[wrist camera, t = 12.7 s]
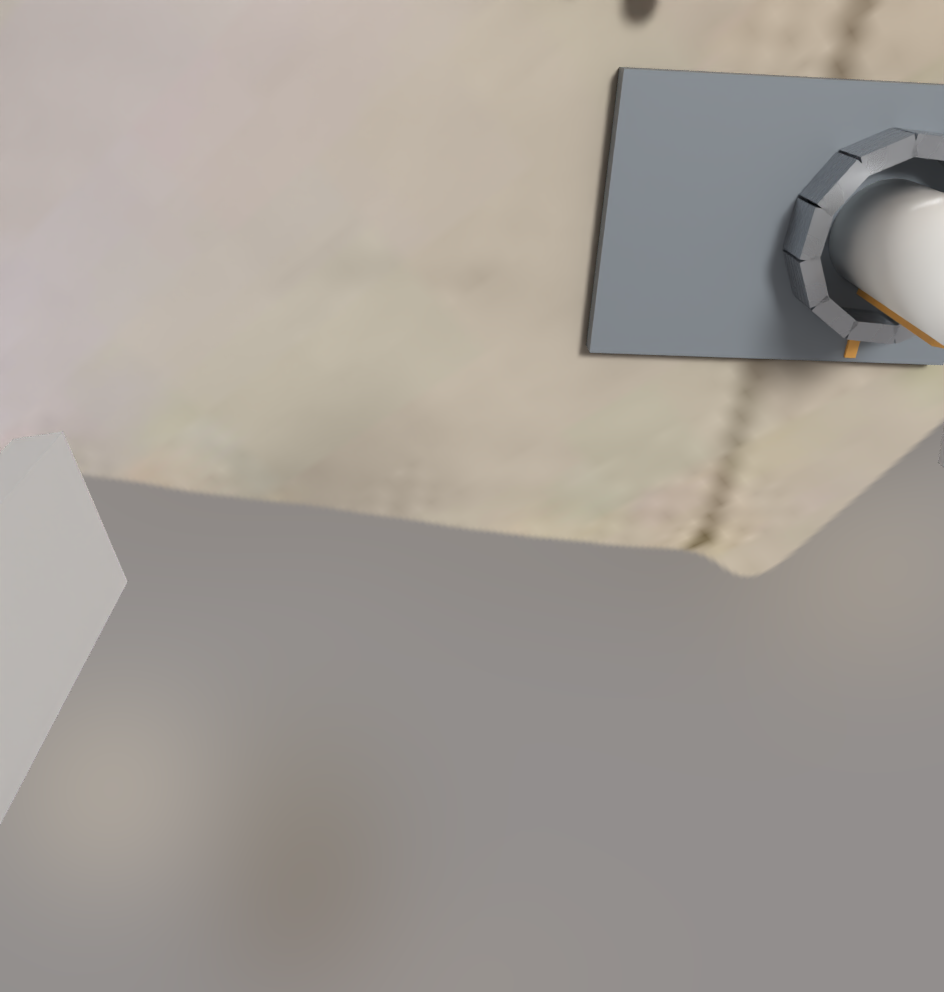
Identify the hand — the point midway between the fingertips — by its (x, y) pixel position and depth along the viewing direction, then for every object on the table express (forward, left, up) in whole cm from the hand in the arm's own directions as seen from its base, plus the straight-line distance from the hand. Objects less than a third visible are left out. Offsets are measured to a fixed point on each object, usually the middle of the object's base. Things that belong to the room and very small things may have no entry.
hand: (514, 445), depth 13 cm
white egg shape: (+20, +9, -33) cm, 40 cm away
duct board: (+16, +7, -34) cm, 39 cm away
